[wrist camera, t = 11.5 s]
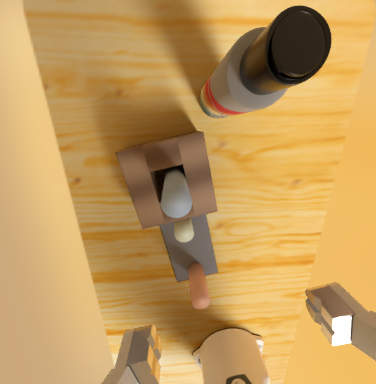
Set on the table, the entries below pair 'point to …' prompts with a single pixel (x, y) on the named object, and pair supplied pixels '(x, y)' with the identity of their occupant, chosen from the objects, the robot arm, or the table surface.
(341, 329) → the robot arm
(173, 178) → the pin long
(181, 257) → the mat
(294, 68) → the lotion bottle
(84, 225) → the table surface
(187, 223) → the pin short
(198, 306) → the pin medium
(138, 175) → the socket block
